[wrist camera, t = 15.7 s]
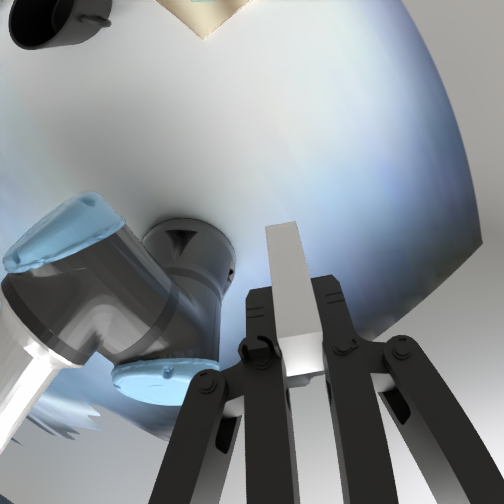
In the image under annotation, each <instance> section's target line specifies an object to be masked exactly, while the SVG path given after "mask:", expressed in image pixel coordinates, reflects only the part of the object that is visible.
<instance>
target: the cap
mask: <svg viewBox="0 0 504 504" xmlns="http://www.w3.org/2000/svg"><path fill="white" fill-rule="evenodd" d="M190 1H193V2H210V1H214V0H190ZM215 1H216V0H215Z"/></svg>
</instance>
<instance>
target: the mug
mask: <svg viewBox="0 0 504 504" xmlns="http://www.w3.org/2000/svg"><path fill="white" fill-rule="evenodd" d="M111 5H112V0H14V2H13V5H12V7H11V11H10V14H9V32H10V36H11V38H12V40H13V41H14V43H15V44H16V45H17V46H19V47H20V48H23V49H26V50H37V49H43V48H49V47H57V46H65V45H74V44H79V43H82V42H84V41H86V40H88V39H89V38H91V37H92V36H94V35H95V34H96V33H97V32H98V31H99V30H100V29H101V27H109V26H110V25H111V21H110V20H108V19H107V18H108V16H109V13H110V10H111Z"/></svg>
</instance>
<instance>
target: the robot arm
mask: <svg viewBox="0 0 504 504" xmlns="http://www.w3.org/2000/svg"><path fill="white" fill-rule="evenodd" d="M125 223H126V222H125V219H124V218H123V217H121V216H119V215H118V214H117V213H116V212H115V211H114V210H113V208H112V207H111V206H110V205H109V204H108V203H107V202H106V201H105V199H104V198H103V197H102V196H101V195H99V194H97V193H95V192H90V191H88V192H82V193H79V194H77V195H75V196H74V197H72V198H70V199H69V200H67V201H65V202H64V203H63V204H61V205H60V206H58V207H57V208H55V209H54V210H53V211H51V212H50V213H49V214H47V215H46V216H45V217H44V218H42V219H41V220H40V221H39V222H37V223H36V224H35V225H34V226H33V227H32V228H30V229H29V230H28V231H27V232H26V233H25V234H24V235H23V236H22V237H21V238H20V239H19V240H18V241H17V242H16V243H15V244H14V245H13V246H12V247H11V248H10V249H9V250H8V251H7V252H6V254H5V255H4V257H3V264H4V267H5V270H6V271H7V272H8V274H7V275H6V277H5V278H4V279H3V281H2V282H1V283H0V303H1V305H0V455H1V453H2V452H3V450H4V449H5V447H6V445H7V444H8V442H9V441H10V439H11V438H12V436H13V435H14V433H15V432H16V431H17V429H18V427H19V426H20V425H21V423H22V422H23V420H24V419H25V417H26V416H27V415H28V413H29V412H30V410H31V409H32V408H33V406H34V405H35V403H36V402H37V401H38V399H39V398H40V397H41V395H42V394H43V392H44V391H45V390H46V388H47V387H48V386H49V384H50V383H51V382H52V380H53V379H54V378H55V376H56V375H57V374H58V373H59V371H60V370H61V369H62V368H81V367H83V366H84V365H85V363H86V362H87V361H88V359H89V358H90V357H91V356H92V355H93V354H94V352H96V351H97V352H99V353H100V354H102V355H103V356H104V357H106V358H107V359H108V360H109V361H111V362H112V363H113V364H114V366H115V367H114V369H112V372H111V375H112V382H113V385H114V387H115V388H116V389H117V390H118V391H120V392H121V393H122V394H124V395H126V396H128V397H131V398H133V399H136V400H139V401H143V402H147V403H152V404H159V405H182V406H181V409H180V412H179V415H178V418H177V421H176V423H175V426H174V429H173V432H172V435H171V438H170V441H169V444H168V447H167V450H166V453H165V455H164V459H163V461H162V464H161V467H160V470H159V473H158V476H157V479H156V482H155V485H154V488H153V491H152V494H151V497H150V500H149V503H148V504H219V501H220V497H221V493H222V490H223V486H224V483H225V479H226V475H227V471H228V468H229V464H230V460H231V456H232V453H233V449H234V445H235V441H236V437H237V433H238V429H239V425H240V421H241V418H242V415H243V414H244V419H245V461H246V495H247V496H246V497H247V504H300V496H299V483H298V473H297V463H296V451H295V441H294V431H293V422H292V412H291V403H290V393H289V387H288V382H287V376H292V375H298V374H304V373H310V372H316V371H321V370H324V371H325V377H326V391H327V393H328V399H329V404H330V411H331V417H332V423H333V429H334V436H335V442H336V448H337V456H338V463H339V470H340V478H341V485H342V493H343V501H344V504H399V503H398V496H397V490H396V485H395V479H394V474H393V469H392V463H391V458H390V453H389V449H388V444H387V439H386V435H385V430H384V426H383V422H382V418H381V413H380V409H379V405H378V401H377V397H376V393H375V391H377V392H378V394H379V396H380V397H381V399H382V401H383V403H384V405H385V407H386V408H387V410H388V412H389V414H390V415H391V417H392V419H393V421H394V423H395V424H396V426H397V428H398V430H399V432H400V433H401V435H402V437H403V439H404V441H405V443H406V444H407V446H408V448H409V450H410V452H411V454H412V455H413V457H414V459H415V461H416V463H417V465H418V467H419V469H420V470H421V473H422V474H423V476H424V478H425V480H426V482H427V484H428V486H429V488H430V490H431V492H432V494H433V496H434V497H435V500H436V502H437V504H504V479H503V477H502V475H501V473H500V471H499V470H498V468H497V466H496V464H495V462H494V460H493V459H492V457H491V455H490V453H489V452H488V450H487V448H486V446H485V445H484V443H483V441H482V440H481V438H480V436H479V435H478V433H477V431H476V430H475V428H474V426H473V425H472V423H471V422H470V420H469V418H468V417H467V415H466V414H465V412H464V410H463V409H462V407H461V406H460V404H459V403H458V401H457V400H456V398H455V397H454V395H453V393H452V392H451V390H450V389H449V387H448V386H447V385H446V383H445V381H444V380H443V379H442V377H441V376H440V374H439V373H438V372H437V370H436V369H435V367H434V366H433V364H432V363H431V362H430V360H429V359H428V357H427V356H426V354H425V353H424V351H423V350H422V349H421V347H420V346H419V345H418V343H417V342H416V341H415V340H414V339H413V338H411V337H409V336H406V335H397V336H394V337H392V338H391V339H389V340H388V341H387V343H384V342H372V341H367V340H365V339H363V338H361V337H360V336H359V335H358V334H357V333H356V332H355V329H354V327H353V324H352V320H351V317H350V314H349V311H348V308H347V304H346V301H345V298H344V295H343V293H342V289H341V286H340V283H339V281H338V280H337V279H336V278H335V277H334V276H333V275H326V276H321V277H316V278H310V275H309V271H308V267H307V263H306V259H305V255H304V251H303V247H302V244H301V240H300V236H299V232H298V228H297V225H296V221H293V222H288V223H282V224H277V225H271V226H266V227H265V229H266V238H267V247H268V256H269V265H270V275H271V284H272V286H269V287H264V288H258V289H252V290H250V291H249V293H248V295H247V297H246V338H244V339H243V340H242V342H241V343H240V344H239V348H238V353H239V355H240V357H241V359H242V360H241V361H240V362H239V363H237V364H236V365H234V366H232V367H230V368H228V369H225V370H223V371H221V372H219V369H220V364H219V344H220V323H221V302H222V300H223V298H224V296H225V294H226V292H227V291H228V289H229V287H230V285H231V283H232V281H233V278H234V274H235V253H234V250H233V247H232V245H231V243H230V242H229V240H228V239H227V238H226V237H225V235H224V234H223V233H221V232H220V231H219V230H218V229H216V228H215V227H213V226H211V225H209V224H207V223H205V222H202V221H199V220H194V219H187V218H177V219H171V220H167V221H164V222H162V223H159V224H158V225H156V226H154V227H153V228H152V229H151V230H150V231H149V232H148V233H147V234H146V236H145V237H144V239H143V241H142V243H141V242H140V241H139V240H138V238H137V237H136V236H135V235H134V234H133V232H132V231H131V230H130V229H129V227H128V226H127V225H126V224H125ZM0 504H14V503H12V502H11V501H9V500H8V499H7V498H5V497H4V496H2V495H1V494H0Z"/></svg>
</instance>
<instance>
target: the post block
mask: <svg viewBox="0 0 504 504" xmlns="http://www.w3.org/2000/svg"><path fill="white" fill-rule="evenodd" d="M156 1H157V2H158V3H160V4H161V5H162V6H164V7H165V8H166V9H167V10H168V11H170V12H171V13H172V14H173V15H175V16H176V17H177V18H178V19H179V20H181V21H182V22H183V23H184V24H185V25H186V26H188V27H189V28H190V29H191V30H192V31H193V32H195V33H196V34H197V35H198V36H199V37H200V38H201V39H205V38H206V37H207V36H208V35H209V34H210V33H211V32H213V31H214V30H215V29H216V28H217V27H219V26H220V25H221V24H222V23H223V22H225V21H226V20H227V19H228V18H230V17H231V16H232V15H233V14H235V13H236V12H237V11H238V10H240V9H241V8H242V7H244V6H245V5H246V4H248V3H249V2H250V1H252V0H216V1H215V0H214V1H210V2H193V1H190V0H156Z"/></svg>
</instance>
